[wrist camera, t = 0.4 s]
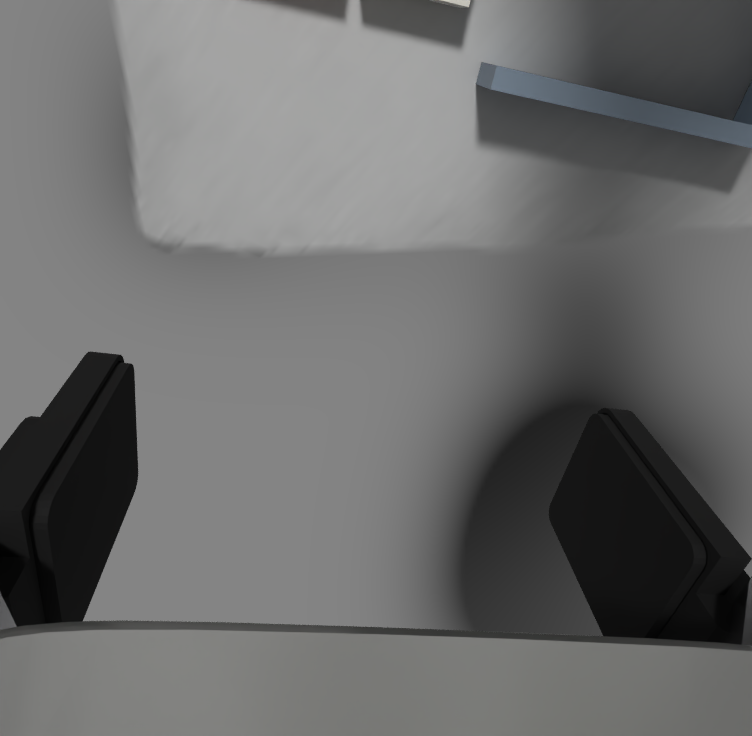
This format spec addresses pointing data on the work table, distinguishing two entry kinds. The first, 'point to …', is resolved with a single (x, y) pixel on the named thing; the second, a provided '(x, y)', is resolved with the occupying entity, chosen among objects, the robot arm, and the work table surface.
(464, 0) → the cream tile
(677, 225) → the work table surface
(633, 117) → the box
